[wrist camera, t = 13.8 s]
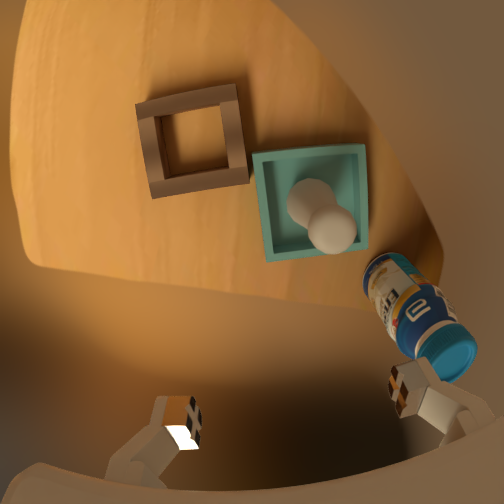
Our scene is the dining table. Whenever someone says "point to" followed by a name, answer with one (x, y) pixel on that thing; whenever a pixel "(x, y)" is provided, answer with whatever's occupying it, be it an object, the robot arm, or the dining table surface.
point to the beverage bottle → (418, 316)
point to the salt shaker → (321, 216)
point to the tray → (297, 169)
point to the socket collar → (156, 150)
